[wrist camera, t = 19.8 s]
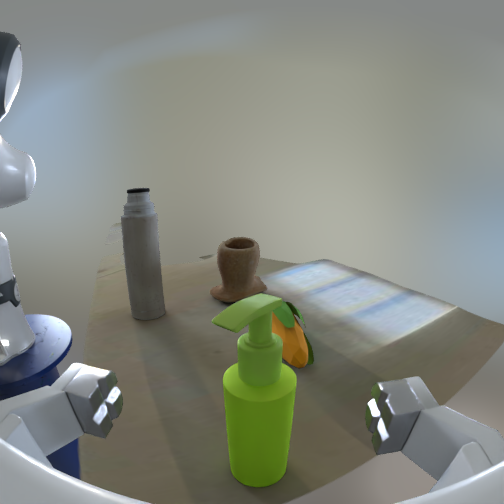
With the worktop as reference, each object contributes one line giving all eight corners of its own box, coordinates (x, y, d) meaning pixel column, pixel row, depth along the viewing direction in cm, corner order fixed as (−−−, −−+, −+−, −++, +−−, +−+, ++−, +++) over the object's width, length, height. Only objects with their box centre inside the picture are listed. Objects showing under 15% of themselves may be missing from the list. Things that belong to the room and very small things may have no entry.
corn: (291, 288, 58) (331, 336, 39) (292, 322, 60) (328, 378, 40) (254, 293, 57) (279, 346, 38) (257, 328, 59) (280, 388, 39)
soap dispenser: (212, 474, 24) (189, 305, 19) (253, 440, 29) (252, 280, 24) (257, 502, 20) (260, 332, 16) (296, 461, 25) (316, 295, 21)
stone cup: (231, 311, 66) (229, 246, 62) (204, 296, 75) (201, 238, 71) (279, 295, 75) (280, 238, 72) (250, 284, 84) (249, 232, 81)
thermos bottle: (137, 305, 68) (127, 189, 61) (168, 306, 68) (160, 186, 62) (127, 319, 60) (114, 190, 54) (161, 320, 60) (150, 187, 54)
